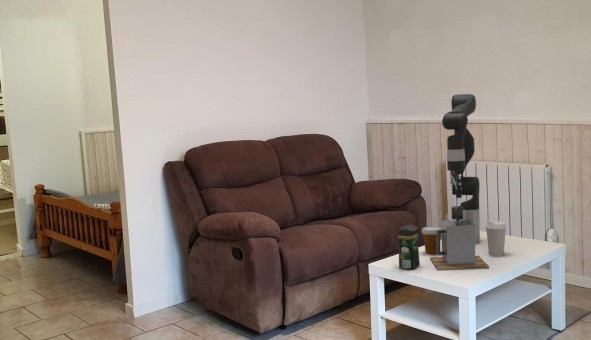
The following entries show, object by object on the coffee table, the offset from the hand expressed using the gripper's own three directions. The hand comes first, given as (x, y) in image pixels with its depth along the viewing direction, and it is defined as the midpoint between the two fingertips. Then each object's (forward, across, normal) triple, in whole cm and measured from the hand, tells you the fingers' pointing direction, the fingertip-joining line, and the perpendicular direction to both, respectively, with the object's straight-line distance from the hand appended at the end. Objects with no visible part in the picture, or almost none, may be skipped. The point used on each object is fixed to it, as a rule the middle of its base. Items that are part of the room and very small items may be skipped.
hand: (456, 196), depth 269 cm
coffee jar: (+30, -2, +22) cm, 38 cm away
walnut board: (+30, 0, 0) cm, 30 cm away
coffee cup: (+31, +13, -20) cm, 39 cm away
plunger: (+25, 0, 0) cm, 25 cm away
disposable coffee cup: (+31, +20, +8) cm, 37 cm away
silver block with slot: (+29, 0, +1) cm, 29 cm away
